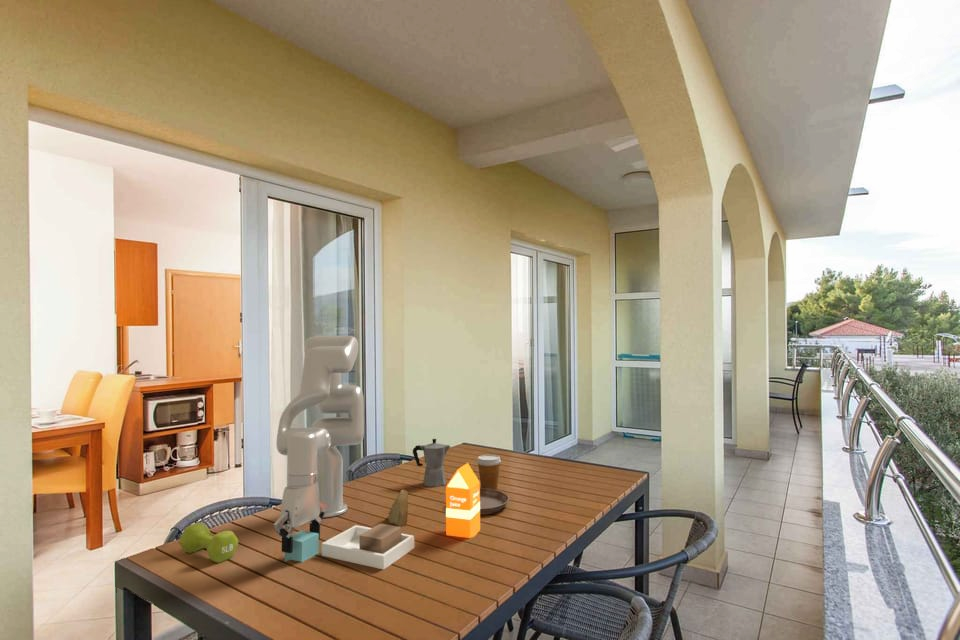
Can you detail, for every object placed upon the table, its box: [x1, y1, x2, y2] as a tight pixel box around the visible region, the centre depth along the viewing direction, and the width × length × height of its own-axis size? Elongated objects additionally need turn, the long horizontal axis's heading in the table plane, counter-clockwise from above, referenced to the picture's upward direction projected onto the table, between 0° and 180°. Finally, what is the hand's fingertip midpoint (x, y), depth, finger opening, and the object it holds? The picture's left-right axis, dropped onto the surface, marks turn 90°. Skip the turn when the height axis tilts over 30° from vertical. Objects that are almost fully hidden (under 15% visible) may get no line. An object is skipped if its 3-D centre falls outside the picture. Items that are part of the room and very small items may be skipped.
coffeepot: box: [412, 438, 451, 488], centre depth 198 cm, size 15×9×18 cm, turn 103°
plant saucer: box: [480, 488, 510, 516], centre depth 170 cm, size 21×21×3 cm
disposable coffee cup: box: [476, 454, 502, 490], centre depth 190 cm, size 10×10×12 cm
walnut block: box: [360, 523, 402, 554], centre depth 130 cm, size 7×9×6 cm
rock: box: [387, 488, 409, 528], centre depth 154 cm, size 11×9×10 cm
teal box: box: [284, 529, 320, 563], centre depth 130 cm, size 6×6×6 cm
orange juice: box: [445, 462, 481, 539], centre depth 146 cm, size 8×9×20 cm
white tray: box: [321, 524, 415, 571], centre depth 132 cm, size 20×14×4 cm
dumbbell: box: [178, 522, 239, 564], centre depth 133 cm, size 16×8×7 cm, turn 60°
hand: (301, 545), depth 130 cm, fingers open, 9 cm apart
